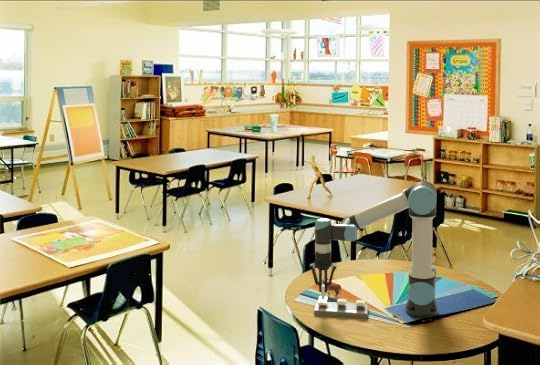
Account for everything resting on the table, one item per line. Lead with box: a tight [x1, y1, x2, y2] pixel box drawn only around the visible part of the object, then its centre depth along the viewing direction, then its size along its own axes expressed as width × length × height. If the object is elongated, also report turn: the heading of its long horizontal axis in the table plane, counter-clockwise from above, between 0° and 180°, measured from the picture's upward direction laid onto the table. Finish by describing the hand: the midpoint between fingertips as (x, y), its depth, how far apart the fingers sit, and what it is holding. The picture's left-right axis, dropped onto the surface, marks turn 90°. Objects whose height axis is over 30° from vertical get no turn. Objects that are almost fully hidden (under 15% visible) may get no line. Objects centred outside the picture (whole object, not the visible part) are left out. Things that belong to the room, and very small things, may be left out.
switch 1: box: [317, 295, 329, 305], centre depth 286 cm, size 4×7×1 cm, turn 170°
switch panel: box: [313, 300, 369, 319], centre depth 284 cm, size 25×12×4 cm, turn 80°
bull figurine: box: [322, 277, 342, 299], centre depth 304 cm, size 4×13×8 cm, turn 42°
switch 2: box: [355, 299, 366, 306], centre depth 283 cm, size 4×7×1 cm, turn 170°
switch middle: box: [336, 298, 347, 305], centre depth 284 cm, size 4×7×1 cm, turn 170°
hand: (323, 298), depth 282 cm, fingers closed
